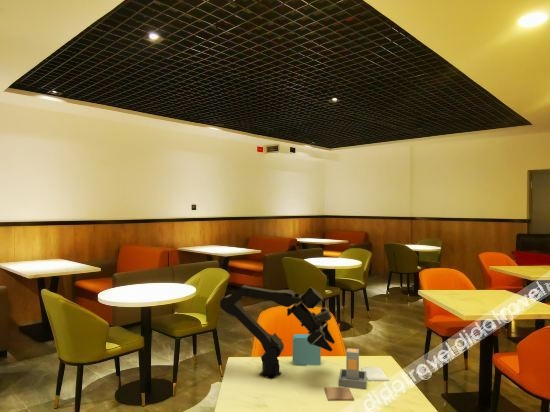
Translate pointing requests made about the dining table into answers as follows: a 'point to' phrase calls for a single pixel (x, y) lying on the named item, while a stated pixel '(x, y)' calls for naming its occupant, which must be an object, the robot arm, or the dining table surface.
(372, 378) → the hard drive
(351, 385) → the parts bin
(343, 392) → the walnut pad
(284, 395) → the dining table surface
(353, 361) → the labelled box
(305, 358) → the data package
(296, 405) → the dining table surface
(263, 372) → the robot arm
